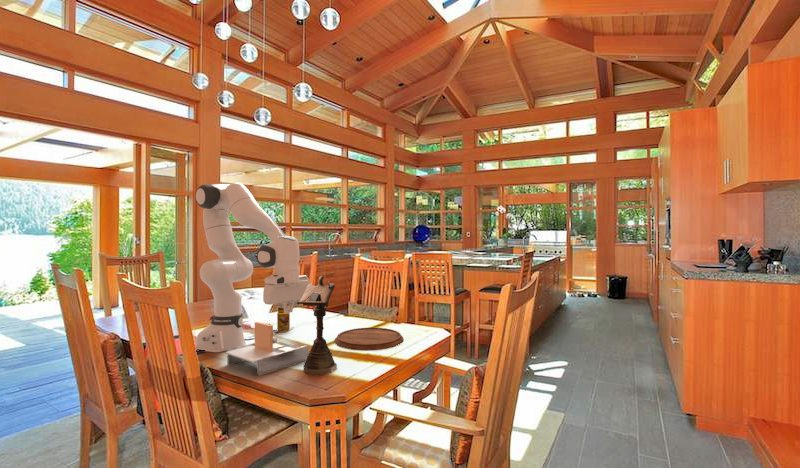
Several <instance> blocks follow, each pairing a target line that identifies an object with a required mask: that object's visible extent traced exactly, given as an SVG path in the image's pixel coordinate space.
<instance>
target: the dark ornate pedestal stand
mask: <svg viewBox="0 0 800 468" xmlns="http://www.w3.org/2000/svg"><path fill="white" fill-rule="evenodd" d="M324 278H325V275H324V274H323V275H320V276H319V277H318V284H317V285H314V283H313V282H309V284H308V286H307V288H306V290H305V292H304V294H303V296H302V298H301V299H300V300H296V301H295V304H296V305H294V306H295V308H297V306H299V305H302V306H303V307H305V306H307V307H308V306H309V307H313V309H312V311H313V316H314V317H315V319H316V327H315V329H316V338H315V339H314V340H313V344H312V346H311V349H310V350H308V356H307V360H306V361H304V364H303V370H304V371H305V373H306V374H310V375H325V374H329V373H332V372H334V371H335V370H337V368H338V363H337V362H335V360H334V358H333V355H332V354H333V353H332V352H331V349H330V348H329V346H328V344H327V339H325V338H324V334H323V333H324V329H325V328H324V317H326V315H327V310H328V309H327V308H328V307H329V300H330V298H331V295H332V293H333V291H334V289H335V288H336V284H335V283H330V280H328V281H327V283H326V285H324V281H323V280H324Z"/></svg>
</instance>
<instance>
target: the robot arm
mask: <svg viewBox="0 0 800 468" xmlns="http://www.w3.org/2000/svg"><path fill="white" fill-rule="evenodd" d="M194 197H195V201H196V203H197V205H198V206H199V207H200V208H202V209H203V211H202V221H203V223H202V225H203V228H204V229H203V230H204V233H205V238H206V243H207V246H208V249H209V250H211V251H212V252H213V253H215V254H216V256H218V258H216V259H212V260H209V261H206V262H204V263H202V265H200V268H199V277H200V280H201V281H202V282H203V283H204V284H206V286H207V287H208V288H209V290H210V291H211V294H212V296H213V307H214V309H213V311H214V314H213V315H211V317H209V318H208V321H210V324H209V325H207V326H206V327H205V328H203V329H202V330H201V331H199V332H198V334H197V335H196V336H197V337H196V340H195V342H194V344H196V350H195V351H198V350H197V349H201V350H205V351H204V352H209V353H221V352H225V351H226V352H227V350H229V349H233V348H237V347H240V346H244V345H247V343H246V340H245V336H244V333H243V332H244V331H243V330H244V329H243V325H244V317H243V314H244V313H243V310H242V307H243V305H242V302H243V301H242V296H241V294H240V293H239V292H237V291H236V290H235V288H234V284H233V283H237V282H241V281H245V280H247V279H248V278H250V277H251V276H252V275H253V273H254V265H253V262H252V261H251V260H250V259H249V258H247V257H246V256H245V255H244V254H243V253H242V251H241V250H240V248H239V247H238V245H237V243H236V240H235V236H234V233H233V228H232V224H231V221H230V217H229V216H230V215H229V214H230V213H231V215H232V217H233V219H234V220H235V221H236V223H238V224H239V225H240V226H243V227H247V228H250V229H254V230H257V231H260V232H262V233H264V234H265V235H266V237H268V238H269V240H270V241H271V242H269V243H266V244H263V245H261V246H260V247H259V248H258V250H257V252H256V260H257V263H258V265H259V266H260V267H261V268H263V269H264V268H265V269H273V268H275V271H276V272H274V273H273V274H271V275H268V276H267V277H265V278H264V284H265V285H264V287H263V292H262V298H263V303H264V304H265V305H277V304H280V305H281V307H283V308H284V313H290V314H291V313H293V312H294V311H293V310H294V309H293V308H294V306H295V304H296V301H300V300H301V298H302V296H303V294H304V292H305V290H306V288H307V286H308V284H309V283H310V277H308V276H307V275H306V274H305V275H300V266H299V262H300V243H299V241H298V239H297V238H296V237H294V236H291V235H286V234H285V232H283V229H281V227H280V226H279V225H278V223H277V222H276V221H275V220H274V219H273V218H272V217H271V216H270V215H269V214H267V212H266V211H265V210H264V209H263V208H262V207H261V206H260V205H259V203H258V201H256V199H255V197H254V196H253V194H252V192H251V191H250V190H249V189H248V188H247V186H246V185H244V184H243V183H241V182H233V183H213V184H212V183H205V184H202V185H201V184H200V185H199V186H198V187H197V189H196V190H195V196H194ZM288 303H289V305H288ZM287 307H288V308H287Z"/></svg>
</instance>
